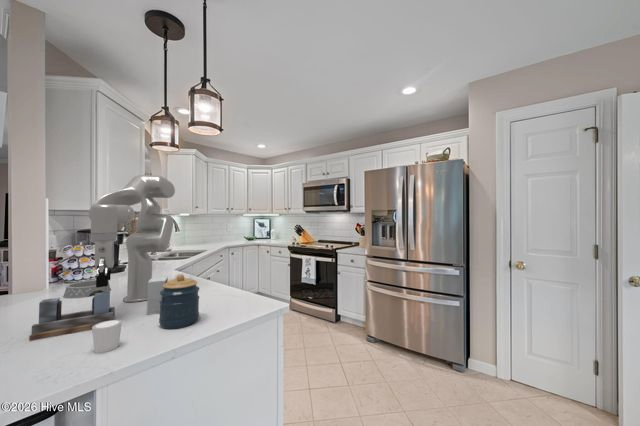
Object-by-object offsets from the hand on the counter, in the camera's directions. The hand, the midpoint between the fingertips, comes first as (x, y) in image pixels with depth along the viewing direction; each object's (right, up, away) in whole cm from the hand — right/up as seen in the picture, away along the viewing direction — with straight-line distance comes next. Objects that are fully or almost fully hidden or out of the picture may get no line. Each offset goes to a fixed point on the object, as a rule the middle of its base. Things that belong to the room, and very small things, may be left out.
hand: (103, 283), depth 94 cm
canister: (+29, -15, 0) cm, 32 cm away
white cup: (+18, -14, -19) cm, 29 cm away
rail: (-5, -14, -5) cm, 16 cm away
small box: (+13, -15, +12) cm, 23 cm away
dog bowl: (-39, -16, +37) cm, 56 cm away
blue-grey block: (0, -13, -1) cm, 13 cm away
